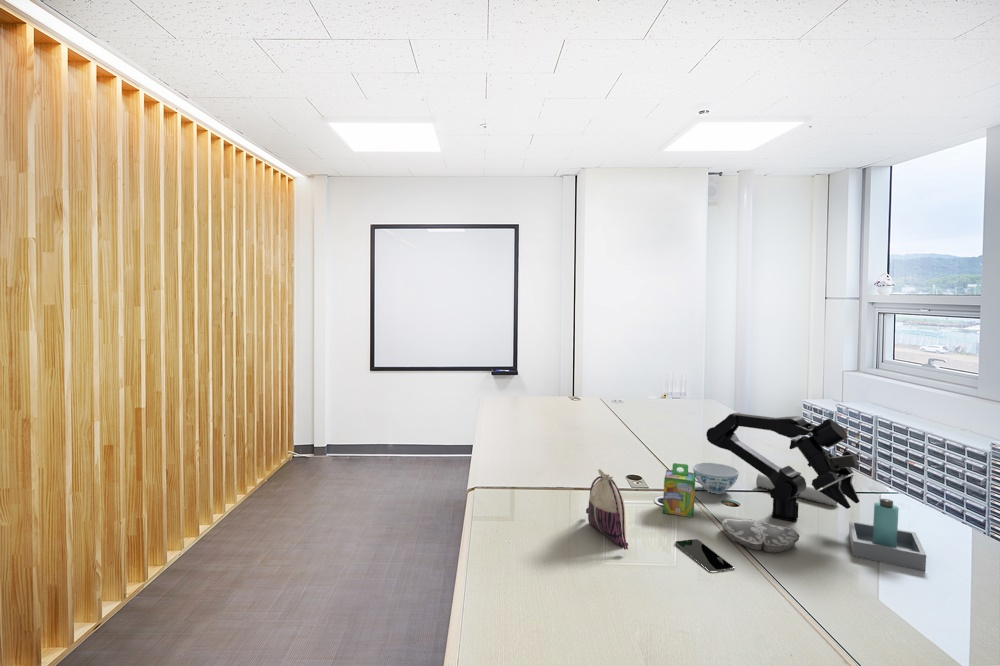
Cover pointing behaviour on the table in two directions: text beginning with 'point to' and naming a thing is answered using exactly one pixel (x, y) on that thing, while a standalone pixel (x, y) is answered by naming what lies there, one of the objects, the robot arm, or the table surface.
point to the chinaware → (715, 476)
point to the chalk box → (679, 491)
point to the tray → (887, 547)
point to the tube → (807, 493)
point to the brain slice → (760, 535)
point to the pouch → (607, 509)
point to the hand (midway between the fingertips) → (853, 505)
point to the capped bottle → (885, 523)
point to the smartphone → (704, 555)
